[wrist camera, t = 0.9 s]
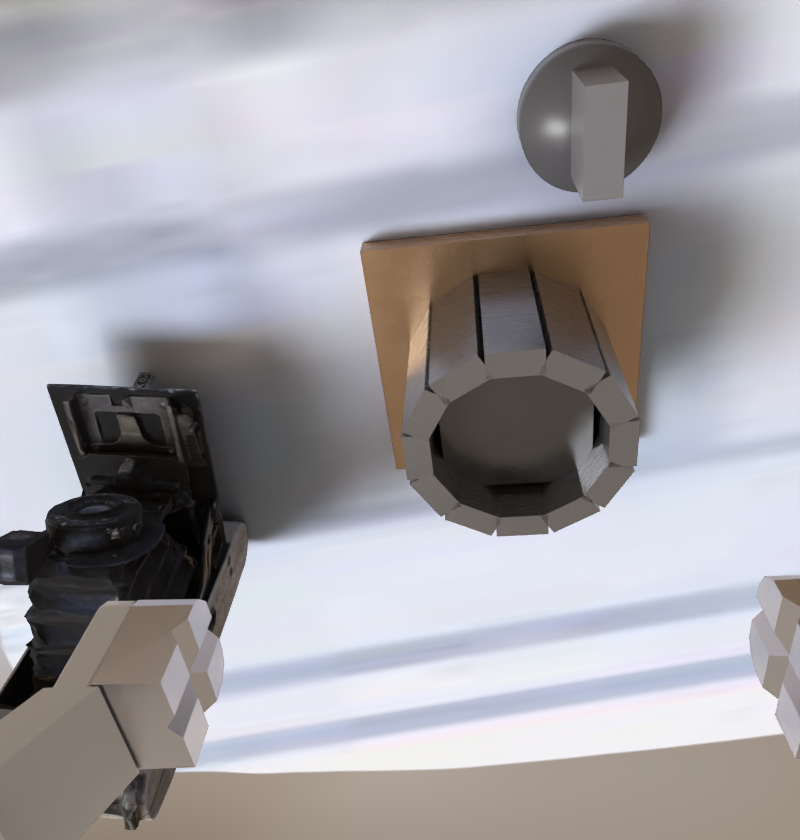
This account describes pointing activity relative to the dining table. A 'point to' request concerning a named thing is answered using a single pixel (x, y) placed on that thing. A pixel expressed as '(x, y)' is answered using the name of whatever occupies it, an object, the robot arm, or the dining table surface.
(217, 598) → the vintage camera
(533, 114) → the rotary knob
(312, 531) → the dining table surface
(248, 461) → the dining table surface
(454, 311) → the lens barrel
